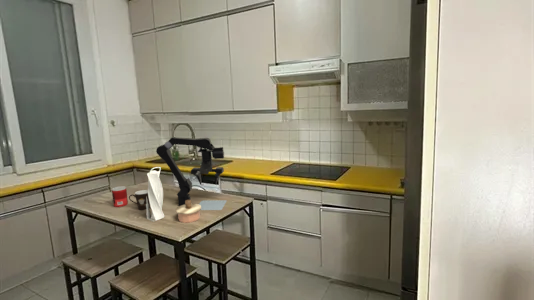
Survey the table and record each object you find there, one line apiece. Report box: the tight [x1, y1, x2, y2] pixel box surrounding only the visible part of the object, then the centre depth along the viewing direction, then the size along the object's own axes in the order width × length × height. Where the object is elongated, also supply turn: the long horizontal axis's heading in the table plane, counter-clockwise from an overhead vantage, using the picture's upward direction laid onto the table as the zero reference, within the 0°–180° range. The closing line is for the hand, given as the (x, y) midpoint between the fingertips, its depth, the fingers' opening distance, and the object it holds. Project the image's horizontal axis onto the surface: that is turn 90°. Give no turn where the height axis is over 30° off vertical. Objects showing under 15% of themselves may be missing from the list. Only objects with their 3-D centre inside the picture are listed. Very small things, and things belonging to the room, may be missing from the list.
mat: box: [198, 199, 228, 211], centre depth 174 cm, size 16×16×1 cm
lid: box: [175, 199, 202, 214], centre depth 155 cm, size 13×13×5 cm
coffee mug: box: [128, 189, 151, 211], centre depth 173 cm, size 12×9×10 cm
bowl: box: [177, 210, 201, 224], centre depth 156 cm, size 11×11×5 cm
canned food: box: [111, 185, 129, 208], centre depth 179 cm, size 8×8×11 cm
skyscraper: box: [145, 166, 165, 223], centre depth 156 cm, size 8×8×28 cm
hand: (208, 184), depth 176 cm, fingers open, 9 cm apart
